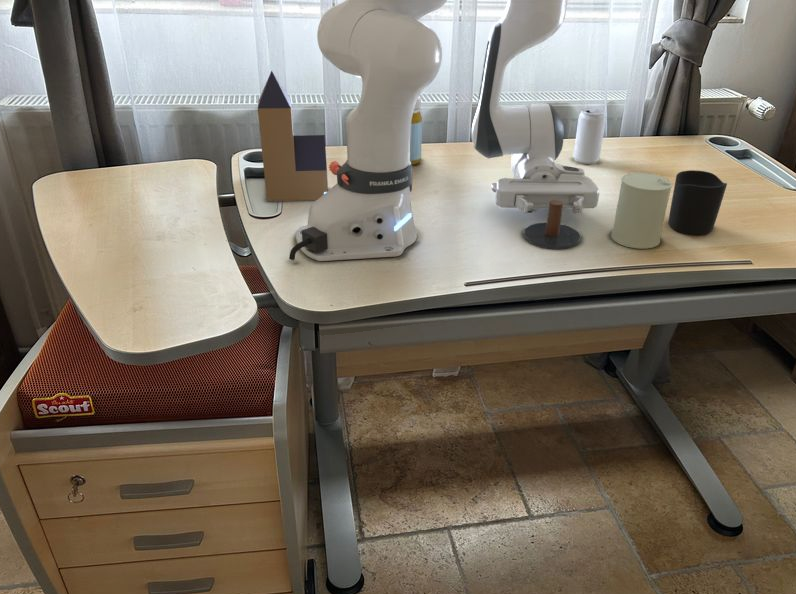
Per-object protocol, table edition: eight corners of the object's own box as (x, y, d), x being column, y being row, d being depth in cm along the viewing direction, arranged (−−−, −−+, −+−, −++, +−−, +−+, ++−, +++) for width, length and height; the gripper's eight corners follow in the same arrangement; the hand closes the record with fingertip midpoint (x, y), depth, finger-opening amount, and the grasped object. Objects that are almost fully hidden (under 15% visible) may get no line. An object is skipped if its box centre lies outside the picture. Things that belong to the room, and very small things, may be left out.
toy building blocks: (267, 201, 147) (254, 74, 134) (269, 170, 163) (257, 53, 149) (328, 199, 149) (321, 74, 136) (324, 168, 165) (318, 53, 151)
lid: (541, 252, 131) (545, 216, 128) (513, 229, 140) (516, 195, 136) (591, 244, 135) (597, 209, 131) (561, 222, 143) (565, 188, 139)
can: (661, 251, 133) (675, 189, 127) (610, 245, 135) (622, 184, 128) (658, 231, 141) (671, 172, 134) (610, 226, 142) (621, 167, 136)
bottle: (425, 164, 169) (426, 99, 161) (397, 167, 167) (397, 101, 159) (414, 155, 175) (416, 91, 166) (387, 157, 172) (387, 93, 164)
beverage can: (568, 157, 177) (574, 107, 170) (591, 155, 179) (599, 106, 172) (580, 165, 172) (587, 115, 165) (603, 164, 174) (612, 113, 167)
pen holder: (719, 224, 145) (732, 176, 139) (708, 240, 138) (721, 191, 133) (672, 214, 149) (683, 167, 143) (660, 229, 142) (670, 180, 136)
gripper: (491, 167, 144) (500, 193, 133) (590, 168, 146) (608, 194, 134) (488, 197, 148) (497, 224, 136) (586, 198, 149) (603, 225, 138)
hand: (553, 209), depth 135 cm, fingers open, 8 cm apart
